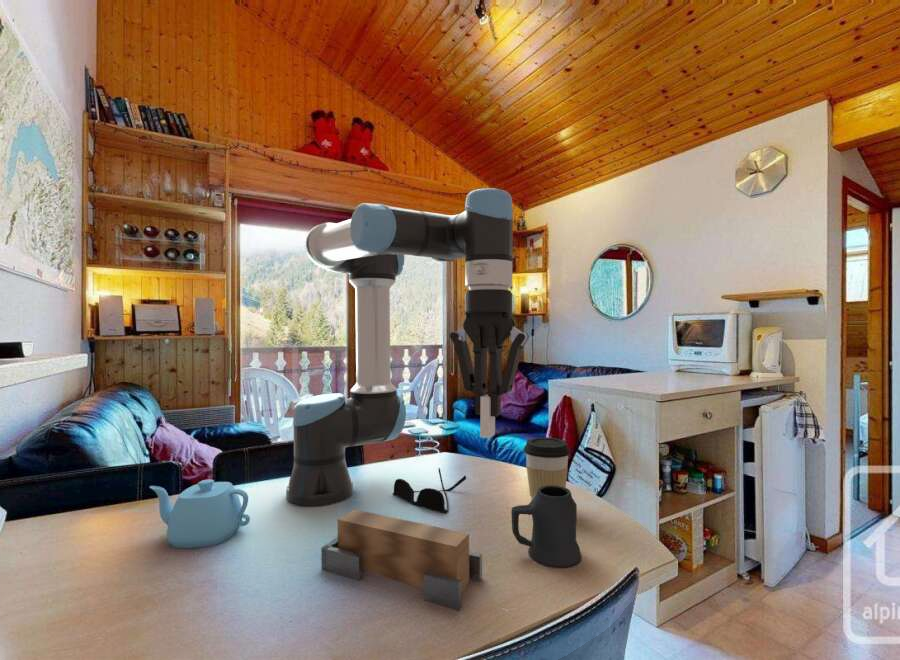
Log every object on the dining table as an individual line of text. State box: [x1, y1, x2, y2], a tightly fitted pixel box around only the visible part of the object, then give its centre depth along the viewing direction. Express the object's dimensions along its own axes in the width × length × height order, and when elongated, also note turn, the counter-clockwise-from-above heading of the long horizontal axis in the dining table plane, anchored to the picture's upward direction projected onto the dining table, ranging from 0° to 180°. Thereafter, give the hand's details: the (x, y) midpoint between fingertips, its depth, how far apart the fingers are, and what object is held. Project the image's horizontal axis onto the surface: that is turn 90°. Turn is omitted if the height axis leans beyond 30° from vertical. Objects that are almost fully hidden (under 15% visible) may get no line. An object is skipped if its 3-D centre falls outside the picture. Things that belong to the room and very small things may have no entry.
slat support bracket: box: [320, 536, 364, 582], centre depth 74 cm, size 8×9×4 cm
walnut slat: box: [337, 509, 470, 593], centre depth 71 cm, size 22×4×8 cm, turn 64°
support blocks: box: [423, 550, 483, 612], centre depth 67 cm, size 6×9×4 cm, turn 155°
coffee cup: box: [523, 436, 571, 502], centre depth 95 cm, size 10×10×15 cm
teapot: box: [149, 478, 251, 549], centre depth 85 cm, size 13×11×18 cm
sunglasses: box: [392, 467, 467, 515], centre depth 104 cm, size 17×14×5 cm
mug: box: [510, 485, 582, 569], centre depth 77 cm, size 12×9×11 cm
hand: (487, 435), depth 71 cm, fingers closed
